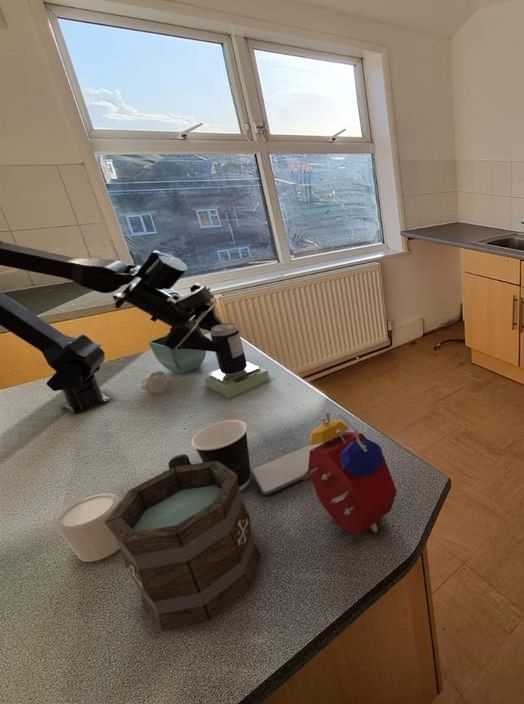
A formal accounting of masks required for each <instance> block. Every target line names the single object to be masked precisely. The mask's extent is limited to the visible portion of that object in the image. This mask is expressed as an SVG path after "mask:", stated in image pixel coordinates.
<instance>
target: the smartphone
mask: <svg viewBox="0 0 524 704" xmlns="http://www.w3.org/2000/svg"><path fill="white" fill-rule="evenodd" d="M321 444H323V443H321ZM321 444H316V445H310V444H308V445H305V446H302V447H300V448H298V449H295V450H293V451H291V452H288V453H286V454H283V455H281V456H278V457H277V458H274V459H272V460H270V461H267V462H264V463H262V464H260V465H258V466H255V467H253V468H252V469H250V471H251V476H252V477H253V479H254V481H255V482H256V484H257V486H258V488H259V490H260V491H261V493H262V495H264V496H269V495H271V494H274V493H275V492H278V491H280V490H283V489H284V488H287V487H288V486H291V485H293V484H295V483H298V482H300V481H303V480H302V479H303V478H304V477H305V476H303V475H304V474H305V473H306V472H307V471H308V464H309V454H310V450H312V449H314V448H315V447H317V446H319V445H321Z"/></svg>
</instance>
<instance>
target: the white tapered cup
mask: <svg viewBox="0 0 524 704" xmlns="http://www.w3.org/2000/svg"><path fill="white" fill-rule="evenodd" d="M120 502H121V500H120V497H119V495H117V494H115V493H113V492H111V493H110V492H103V493H99V494H93V495H90V496H88V497H86V498H83V499H81V500H80V499H79V501H77V502H75V503H73V504H72V505H70V506H68V507H67V508H66V509H64V510H63V511H62V512H61V513H60V514H59V515H58V516H57V518H56V520H55V521H54V527H55V529H56V530H57V531H58V533H59V534H60V535H61V537H62V538H63V539H64V541H65V542H66V543H67V545H68V546H69V547H70V548H71V550H72V551H73V553H74V554H75V555H76V557H77V558H78V559H79V560H80V561H82V562H84V563H92V562H97V561H100V560H103V559H106V558H107V557H109V556H112V555H114V554H115V553H116V552H117V551H119V550H121V549H120V547H119V544H118V542H117V540H116V538H115V536H114V535H113V533H112V532H111V530H110V529H109V528H108V526H107V525H106V524H105V521H106V520H107V518H108V517H109V516H110V515H111V513H112V512H113V511H114V509H115V508H116V507H117V505H118V504H119V503H120Z"/></svg>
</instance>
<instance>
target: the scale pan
mask: <svg viewBox="0 0 524 704" xmlns="http://www.w3.org/2000/svg"><path fill="white" fill-rule="evenodd" d="M248 362H249V361H247V367H246V368H245V369H244V371H243V372H241V373H239V374H236V375H226V374H224V373H222V372H221V371H220V368H219V369H217V370H214V371H211V372H209V373H207V374H208V375H209V376H210V377H212V378H214V379H216V380H218V381H221V382H223V383H225V384H227V383H230V382H232V381H234V380H237V379H239V378H241V377H244V376H246V375H248V374H251V373H253V372H255V371H258V370H260V368H259V367H260V366H258V365H256V364H254V365H252V364H253V363H251V362H249V363H248ZM250 363H251V364H250ZM255 365H256V366H255ZM257 366H258V367H257Z"/></svg>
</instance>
